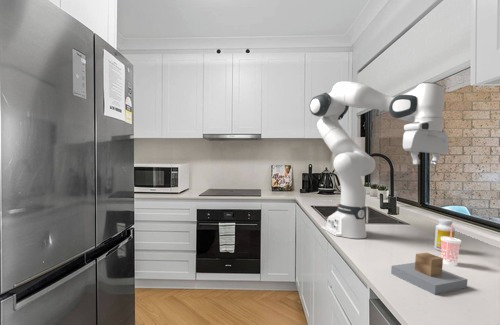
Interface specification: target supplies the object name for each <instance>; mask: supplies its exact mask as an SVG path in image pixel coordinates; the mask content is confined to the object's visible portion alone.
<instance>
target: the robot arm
mask: <svg viewBox="0 0 500 325" xmlns="http://www.w3.org/2000/svg"><path fill="white" fill-rule="evenodd" d="M444 105H445V91H444V87H443V86H442V85H441V84H439V83H436V82H421V83H419V84H418V85H417V86H416V87H415V88H413V89H411V90H409V91H408V92H405V93H402V94H400V95H396V96H395V97H393V96H389V95H387V94H385V93H382V92H380V91H378V90H377V89H374V88H372V87H370V86H368V85H367V84H363V83H360V82H356V81H349V80H346V81H345V80H343V81H342V80H340V81H338V82H336V83H335V84H334V85H333V87H332V89H331V91H330V92H329V93H327V92H323V93H321V94H318V95H315V96H313V97H312V98H311V100H310V102H309V111H310V113H311V114H312V115H313V116H315V117H320V118H319V120H318V121H317V123H316V128H317V130H318V134H319V135H320V136H321V138H322V140H323V141H324V143H325V144H326V146H327V147H328V148H329V150H330V152H331V153H332V154H333V155H335V157H334V160H333V165H332V166H333V170H334V171H335V172H336V173H337V176H338V179H339V183H340V202H339V204H336V207H337V209H336V210H335V212H333V213H332V214H330V215H329V216H328V217H327V219H326V224H323V225H321V229H322V230H325V231H326V232H327V233H330V234H331V235H333V236H334V237H335V236H336V237H343V238H347V239H348V238H350V239H365V238H367V237H368V236H367V230H366V229H367V228H366V217H365V216H366V214H367V213H366V212H367V208H366V199H367V198H366V197H367V195H366V194H367V190H366V187H365V186H364V183H363V179H362V177H364V176H367V175H368V176H369V175H370V174H372V173H373V172H374V171H375V169H376V160H375V159H374V158H373V157H372V156H370V155H369V154H368V153H367V152H366V151H365V150H364V149H363V148H362V147H361V146H359V144H357V143H356V142H355V141H354V140H353V139H352V138H351V137H350V136H349V134H348V133H347V132H346V130H345V129H344V128H343V126H342V125H341V124H340V123H339V121H341V120H342V119H344V118H343V117H344V116H345V115H346V114H347V112H348V111H349V107H351V108H356V109H367V110H380V111H381V110H382V111H387V112H388V113H389V114H390V116H391V117H392V118H394V119H397V120H399V121H400V120H401V121H405V122H408V123H407V124H404V125H403V130H404V133H403V136H402V149H403V150H404V151H405V152H410V156H411V158H412V164H413V165H420V164H421V159H419V156H418V155H419V154H420V153H425V154H426V153H427V154H432V159H431V160H429V161H430V163H429V164H430V165H431V166H438V161H439V160H440V158H441V154H442V155H444V154H448V152H449V145H450V144H449V136H448V134H447V132H446V130H445V129H443V124H444V123H443V121H444V116H443V109H444V107H445V106H444ZM409 122H410V123H409Z"/></svg>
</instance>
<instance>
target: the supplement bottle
mask: <svg viewBox="0 0 500 325" xmlns="http://www.w3.org/2000/svg"><path fill="white" fill-rule="evenodd" d="M451 225H453V220H451V219H449V218H448V219H447V218H438V224H437V225H435V226H434V227H435V231H434V242H433V243H434V244H433V247H434V249H435V250H436V251H439V252H441V237H442V236H446V237H450V232H451ZM455 231H456V230H455V228H454V227H452V237H453V238H455V233H456V232H455Z"/></svg>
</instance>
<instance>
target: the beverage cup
mask: <svg viewBox="0 0 500 325" xmlns="http://www.w3.org/2000/svg"><path fill="white" fill-rule="evenodd" d="M452 227H453V224H452V225H451V232H450V237H446V236H442V237H441V251H440V252H441V254H440V255H441V256H440V257H441V258H443V265H447V266H450V267H452V266H453V267H456V266H458V260H459V254H460V246H461V243H462V239H460V238H456V237H454V238H453V237H452ZM453 228H454V227H453Z"/></svg>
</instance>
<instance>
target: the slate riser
mask: <svg viewBox="0 0 500 325" xmlns="http://www.w3.org/2000/svg"><path fill="white" fill-rule="evenodd" d="M390 273H391V275H393V276H396V277H398V278H400V279H402V280H403V281H406V282H409V283H410V284H412V285H414V286H415V287H418V288H421V289H422V290H425V291H426V290H427V292H428V291H429V292H428V293H430V294H432V295H438V294H439V293H440V294H444V293H448V292H454V291H457V289H459V290H463V289H462V288H464V289H468V279H467V278H465V277H462V276H460V275H457V274H454V273H452V272H449V271H447V270H445V269H442V275H437V276H431V277H430V276H428V275H425V274H423V273H421V272H418V271H416V270H415V262H409V263H402V264H395V265H391V271H390ZM453 290H454V291H453ZM440 294H439V295H440Z"/></svg>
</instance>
